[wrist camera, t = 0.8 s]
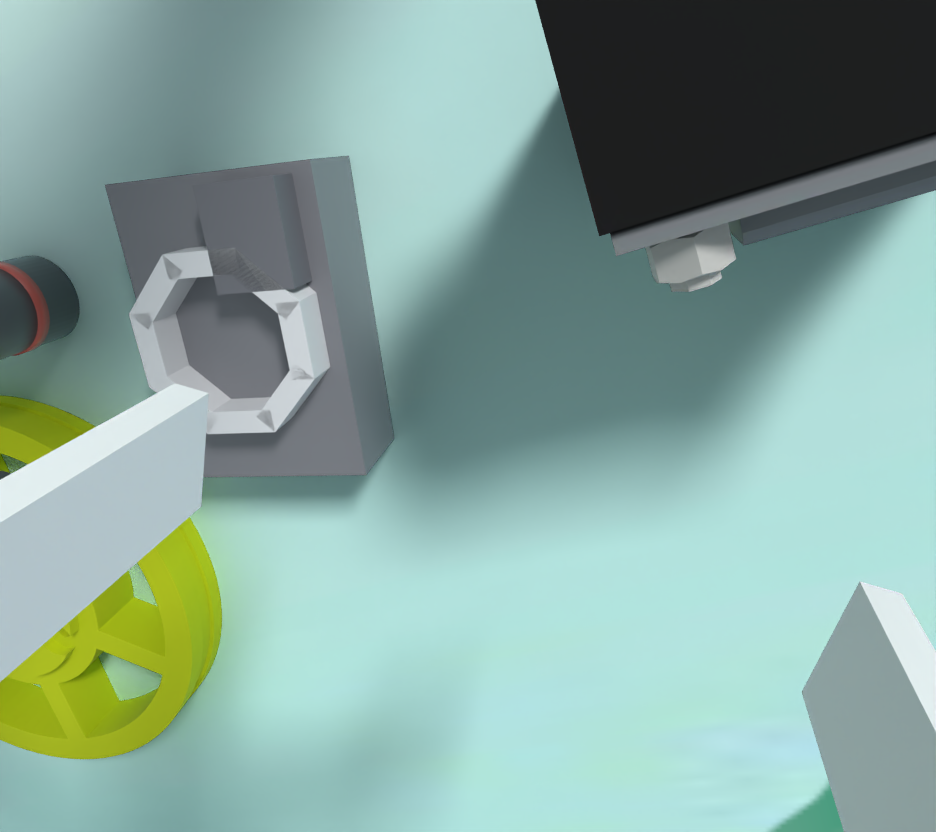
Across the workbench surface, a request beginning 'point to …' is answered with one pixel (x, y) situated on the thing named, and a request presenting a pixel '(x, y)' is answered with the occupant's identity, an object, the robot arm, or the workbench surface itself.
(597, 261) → the workbench surface
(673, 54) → the electrical component
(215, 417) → the plate with octagonal ring
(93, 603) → the pulley
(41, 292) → the lens
